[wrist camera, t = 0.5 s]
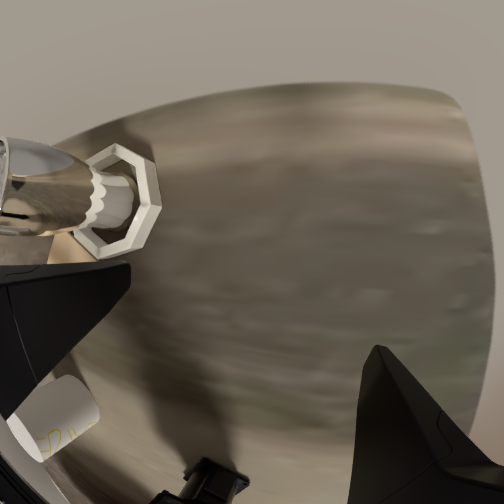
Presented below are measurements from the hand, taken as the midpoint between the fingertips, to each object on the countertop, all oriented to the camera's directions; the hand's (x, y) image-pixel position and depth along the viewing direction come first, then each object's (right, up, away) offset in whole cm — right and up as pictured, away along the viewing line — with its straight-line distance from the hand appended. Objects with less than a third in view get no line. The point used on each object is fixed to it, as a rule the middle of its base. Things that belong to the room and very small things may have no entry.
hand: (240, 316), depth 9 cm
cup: (-24, -19, +21) cm, 37 cm away
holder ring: (-13, +7, +17) cm, 23 cm away
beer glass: (-13, +7, +17) cm, 23 cm away
